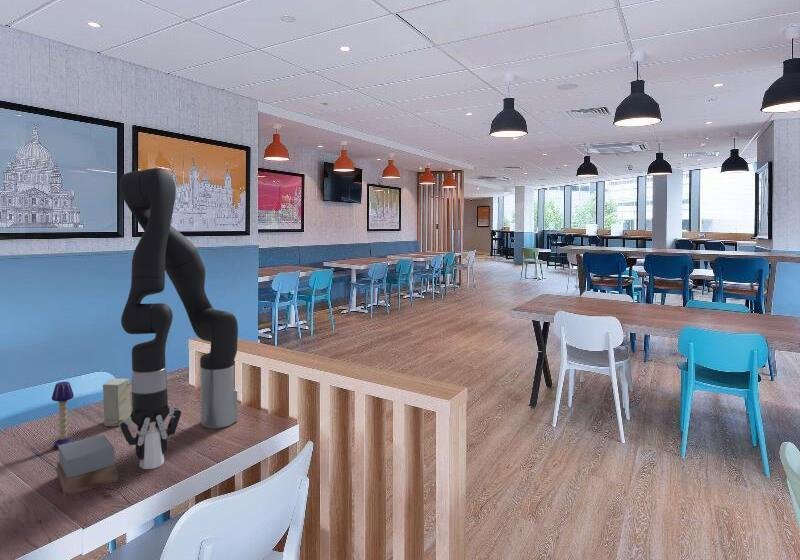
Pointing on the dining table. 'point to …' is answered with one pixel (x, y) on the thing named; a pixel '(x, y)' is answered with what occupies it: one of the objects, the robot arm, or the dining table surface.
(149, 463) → the pepper shaker
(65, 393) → the toy lamp
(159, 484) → the dining table surface
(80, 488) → the walnut base block
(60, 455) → the grey top block
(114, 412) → the skincare box
